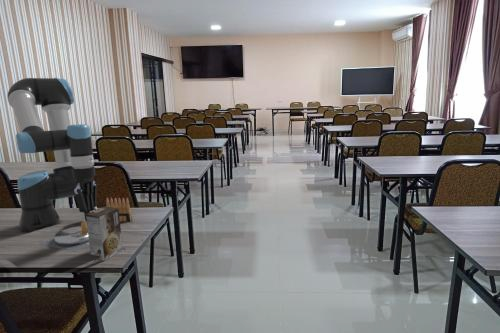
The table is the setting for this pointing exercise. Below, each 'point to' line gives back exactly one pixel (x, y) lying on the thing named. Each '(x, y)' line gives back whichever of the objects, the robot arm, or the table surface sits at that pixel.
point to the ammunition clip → (121, 208)
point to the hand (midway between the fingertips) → (90, 227)
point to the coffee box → (104, 232)
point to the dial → (72, 235)
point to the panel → (71, 248)
